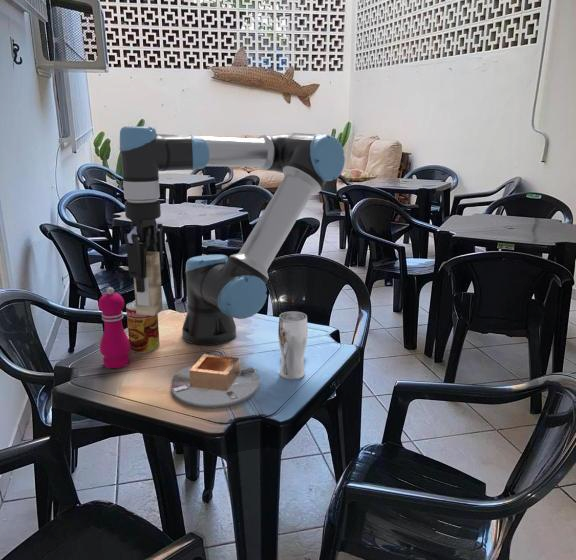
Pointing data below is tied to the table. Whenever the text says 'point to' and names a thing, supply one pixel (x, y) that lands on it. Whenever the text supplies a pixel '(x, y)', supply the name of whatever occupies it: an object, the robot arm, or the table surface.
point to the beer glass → (292, 343)
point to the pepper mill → (113, 331)
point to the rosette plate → (215, 382)
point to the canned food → (142, 330)
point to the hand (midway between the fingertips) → (149, 300)
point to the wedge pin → (151, 286)
